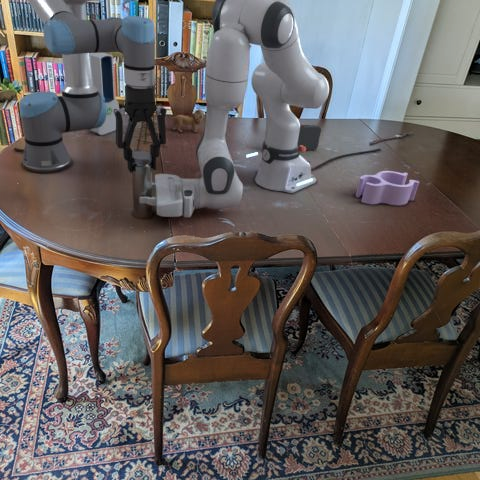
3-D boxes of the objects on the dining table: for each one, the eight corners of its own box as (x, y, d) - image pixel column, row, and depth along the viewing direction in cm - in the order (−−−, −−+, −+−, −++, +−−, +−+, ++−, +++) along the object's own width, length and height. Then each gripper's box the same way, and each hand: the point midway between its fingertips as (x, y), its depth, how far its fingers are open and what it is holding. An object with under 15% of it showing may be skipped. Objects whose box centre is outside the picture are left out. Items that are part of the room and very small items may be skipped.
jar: (155, 215, 138) (155, 160, 128) (139, 220, 135) (137, 164, 125) (146, 207, 141) (145, 153, 132) (130, 211, 138) (128, 157, 129)
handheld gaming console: (315, 147, 196) (319, 124, 190) (317, 149, 194) (322, 126, 188) (264, 149, 189) (267, 125, 183) (266, 152, 187) (269, 127, 181)
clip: (368, 208, 154) (373, 189, 150) (349, 190, 163) (353, 172, 160) (418, 203, 160) (424, 185, 156) (397, 187, 170) (402, 169, 166)
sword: (408, 132, 223) (408, 130, 222) (413, 134, 221) (414, 132, 220) (365, 144, 207) (365, 141, 206) (370, 146, 205) (370, 144, 204)
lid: (155, 158, 131) (155, 153, 130) (147, 166, 126) (147, 160, 125) (136, 155, 131) (136, 149, 131) (127, 162, 127) (127, 157, 126)
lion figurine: (201, 127, 203) (202, 107, 198) (204, 132, 199) (205, 111, 194) (168, 129, 198) (168, 108, 193) (170, 133, 194) (171, 112, 189)
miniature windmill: (157, 154, 175) (156, 71, 159) (135, 150, 176) (133, 68, 160) (165, 145, 182) (165, 66, 166) (144, 142, 183) (143, 62, 167)
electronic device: (99, 136, 184) (93, 56, 168) (85, 131, 187) (78, 52, 171) (121, 128, 194) (118, 52, 177) (108, 124, 197) (103, 48, 180)
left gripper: (105, 90, 111) (111, 179, 123) (180, 87, 119) (178, 170, 131) (98, 82, 116) (104, 167, 129) (170, 79, 124) (169, 160, 137)
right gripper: (184, 168, 144) (138, 168, 141) (191, 200, 127) (139, 200, 124) (184, 187, 147) (139, 187, 144) (190, 220, 130) (139, 221, 127)
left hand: (141, 169), depth 130 cm, fingers open, 6 cm apart
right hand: (139, 193), depth 134 cm, fingers closed on jar, 5 cm apart
